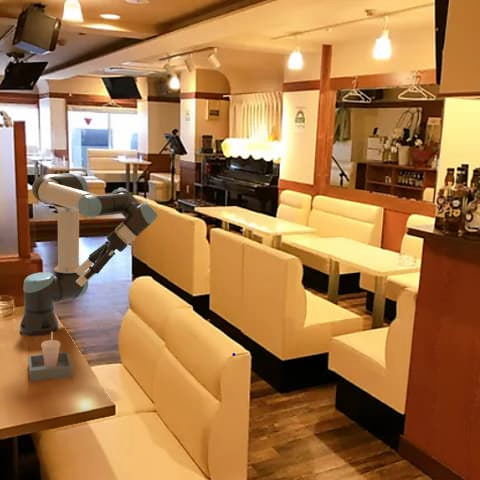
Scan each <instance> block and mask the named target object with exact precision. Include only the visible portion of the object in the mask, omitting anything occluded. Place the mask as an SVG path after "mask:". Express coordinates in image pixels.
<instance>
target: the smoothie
mask: <svg viewBox="0 0 480 480" xmlns="http://www.w3.org/2000/svg"><path fill="white" fill-rule="evenodd" d="M40 347H41V349H42V354H43V357H44V364H45V369H47V368H57V361H58V353H60V347H61V342H60V341H59V340H56V339H54V332H51V334H50V339H47V340H44V341H43V342H41V345H40Z"/></svg>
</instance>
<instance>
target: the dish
mask: <svg viewBox="0 0 480 480" xmlns="http://www.w3.org/2000/svg"><path fill="white" fill-rule="evenodd" d="M27 358H28V359H27V360H28V374H29V381H30V382H34V381H35V382H37V381H45V380H55V379H56V380H57V379H63V378H70V377H71V378H72V377H73V365H72V361H71V358H70V353H69V352H68V351H64V352H59V353H58V361H57V368H47V369H45V364H44V357H43V353H41V354H32V355H31V354H30V355H28V357H27Z"/></svg>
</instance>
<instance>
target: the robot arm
mask: <svg viewBox="0 0 480 480" xmlns="http://www.w3.org/2000/svg"><path fill="white" fill-rule="evenodd" d="M31 192H32V195H33V197H34V198H35V199H36V200H37V201H38V202H39V203H43V204H46V205H52V204H53V207H54V208H55V209H56V210H57V265H56V266H55V267H54V269H53V271H54V273H52V272H48V271H43V272H41V271H39V272H36V273H32V274H29V275H28V276H26V277H25V278H24V281H23V288H22V290H23V309H24V312H23V316H22V318H21V321H20V325H19V331H20V333H21V334H24V335H26V336H33V337H34V336H46V335H51V332H53V333H55V332H57V331H58V330H59V322H58V319H57V316H56V313H55V307H54V306H55V305H54V304H55V303H59V302H65V301H70V300H75V299H77V298H78V299H79V298H82V297H83V296H84V295H85V294H86V293H87V291H88V287H89V280H90V279H91V278H92V277H93V276H94V275H96V274H97V275H98V274H99V273H100V272H101V270H102V269H104V267H105V266H106V265H107V264H108V262H109V261H110V260H111V259H112V258H113V257H114V256H115V255H116V252H115V251H116V250H117V251H118V252H120V253H121V252H123V251H124V250H125V249H126V248H127V247H128V245H130V244H131V243H132V242H133V241H134V242H135V241H136V240H137V239H136V238H138V236H139V235H140V234H142V233H143V232H144V231H145V230H146V229H147V228H148V227H150V226H151V225H152V223H153V222H154V221H155V220H156V219H157V218H158V213H157V211H155V209H153V207H151V205H150V204H148V202H146V201H144V202H142V203H140V202H139V201H138V200H137V199H136V198H135V197H134V195H133V194H132V192H129V190H127V189H126V188H124V187H118V188H117V189H114V190H113V191H112V192H111V193H107V194H96V193H91V192H90V188H89V184H88V182H87V180H86V179H85V177H84V176H83V175H82V174H79V173H72V172H70V173H69V172H68V173H47V174H42V175H40V176H38V177H37V178H36V179H35V180H34V181H33V184H32V185H31ZM80 214H81V216H83V217H84V218H89V217H90V218H95V217H102V216H113V215H122V216H123V217H124V218H125V219H124V220H123V221H122V222H121V223H119V224H118V226H116V227H115V229H114V230H113V231H112V232H110V233H109V234H108V235H107V236H106V239H107V240H106V241H105V242H104V243H103V244H102V245H101V246H99V247H97V249H95V250H94V251H93V252H92V253H90V254H89V255H88V257H87V258H86V259H85V260H84V261H83V262H82V263H81V264H80Z"/></svg>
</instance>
